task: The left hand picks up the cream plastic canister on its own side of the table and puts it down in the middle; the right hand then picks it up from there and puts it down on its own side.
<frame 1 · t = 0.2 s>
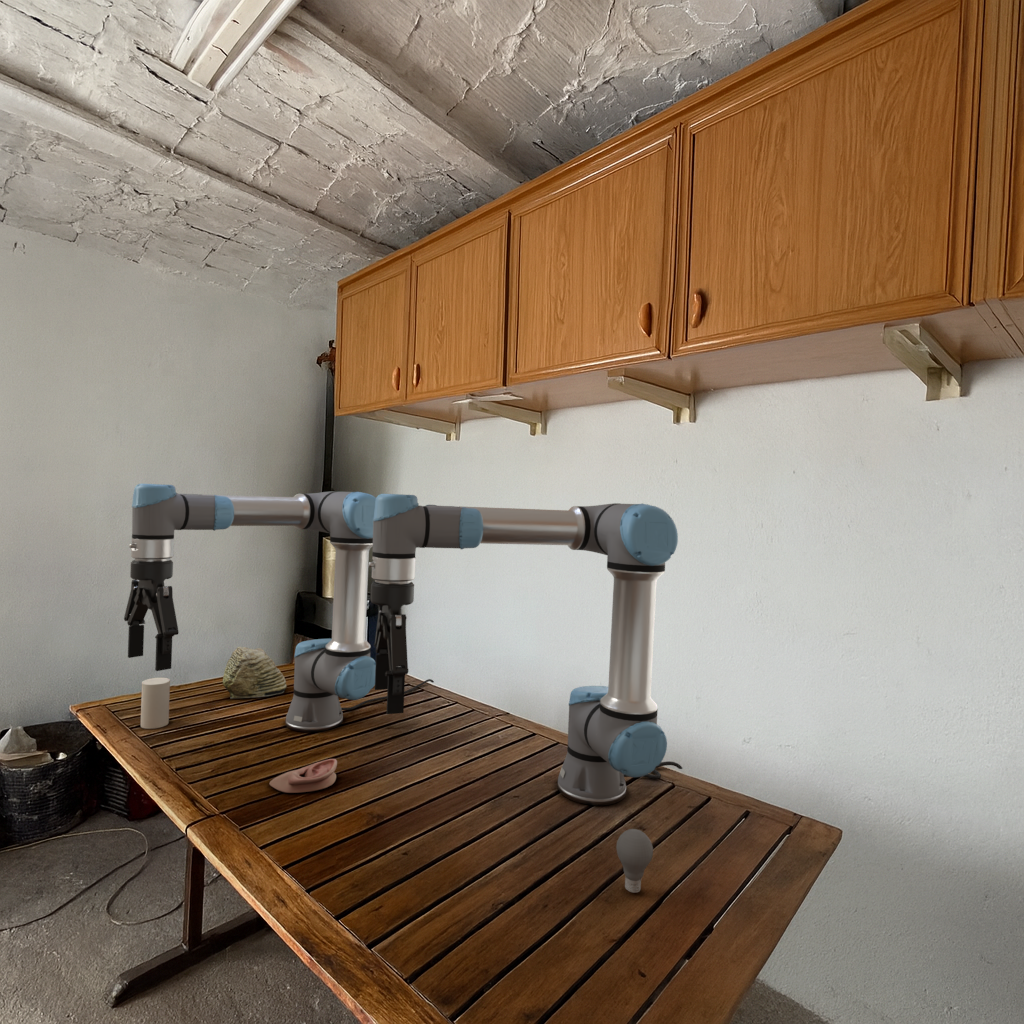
left hand: (148, 663, 130), 28 cm above the table, tool pointing down, fingers open, 13 cm apart
right hand: (388, 700, 112), 28 cm above the table, tool pointing down, fingers open, 13 cm apart
light bulb: (632, 891, 106), on the table
fossil: (254, 694, 198), on the table
anatomical model: (303, 782, 140), on the table
canister: (154, 724, 170), on the table
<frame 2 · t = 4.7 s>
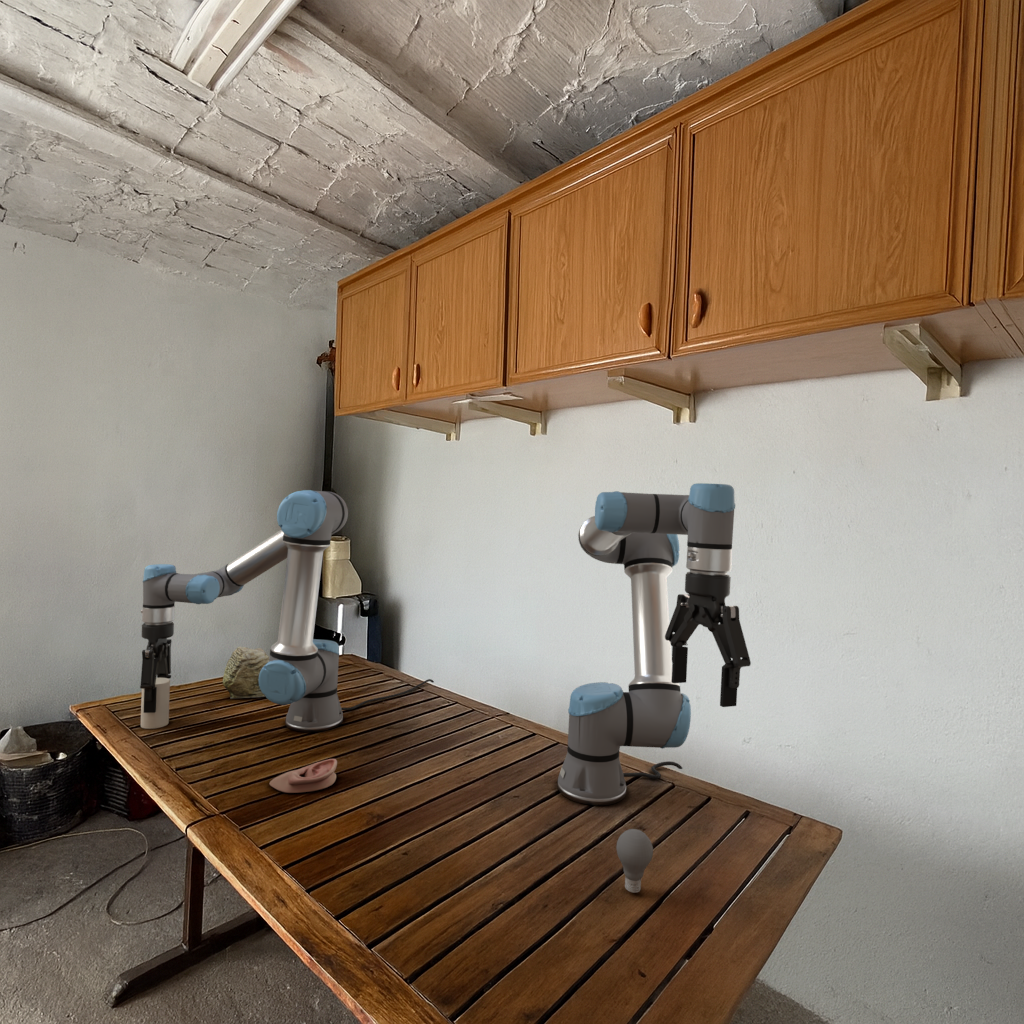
left hand: (155, 707, 170), 5 cm above the table, tool pointing down, fingers closed on canister, 7 cm apart
right hand: (702, 693, 111), 32 cm above the table, tool pointing down, fingers open, 13 cm apart
canister: (154, 724, 170), on the table, touching left hand
everything else where it was.
when the left hand's fingers open (6 cm above the table, at t = 13.8 s): canister drops 1 cm, on the table.
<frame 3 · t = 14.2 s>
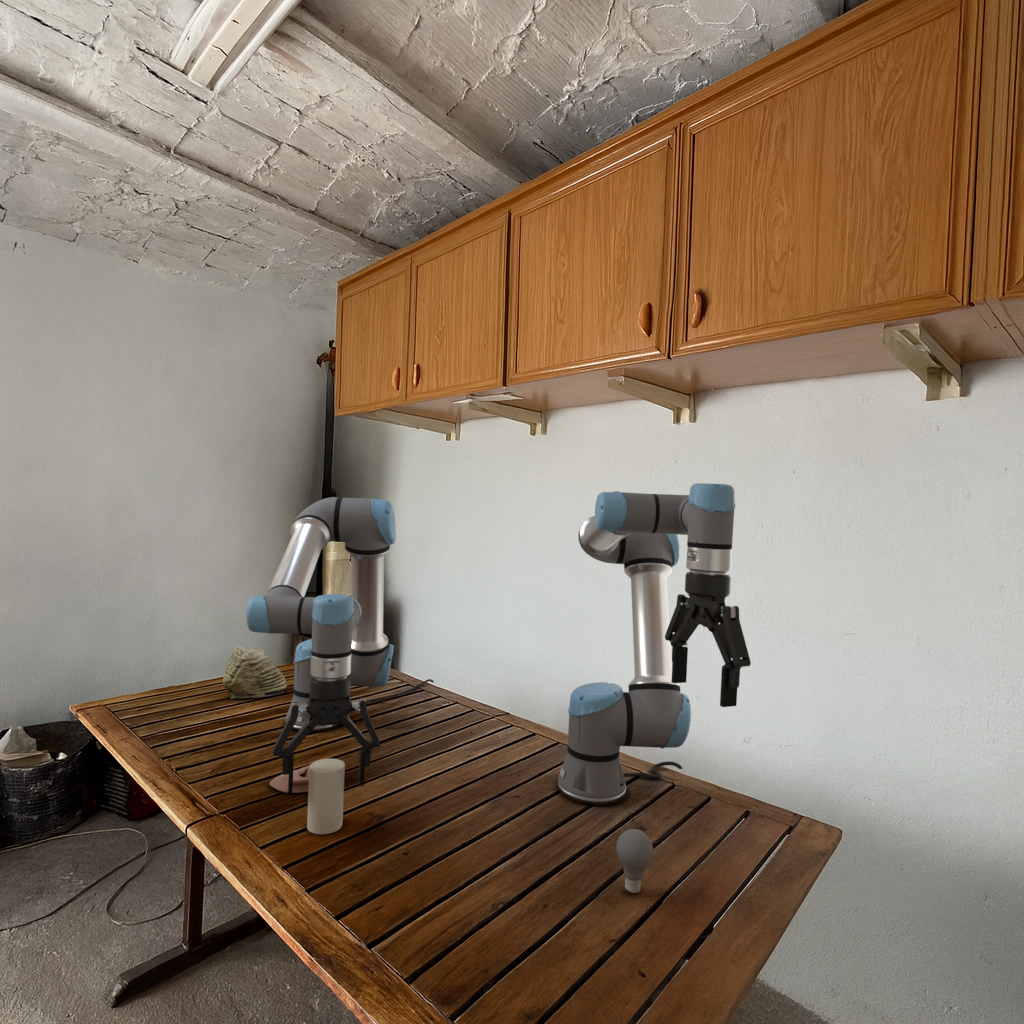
left hand: (326, 786, 122), 8 cm above the table, tool pointing down, fingers open, 12 cm apart
right hand: (702, 693, 111), 32 cm above the table, tool pointing down, fingers open, 13 cm apart
canister: (324, 825, 122), on the table
everything else where it was.
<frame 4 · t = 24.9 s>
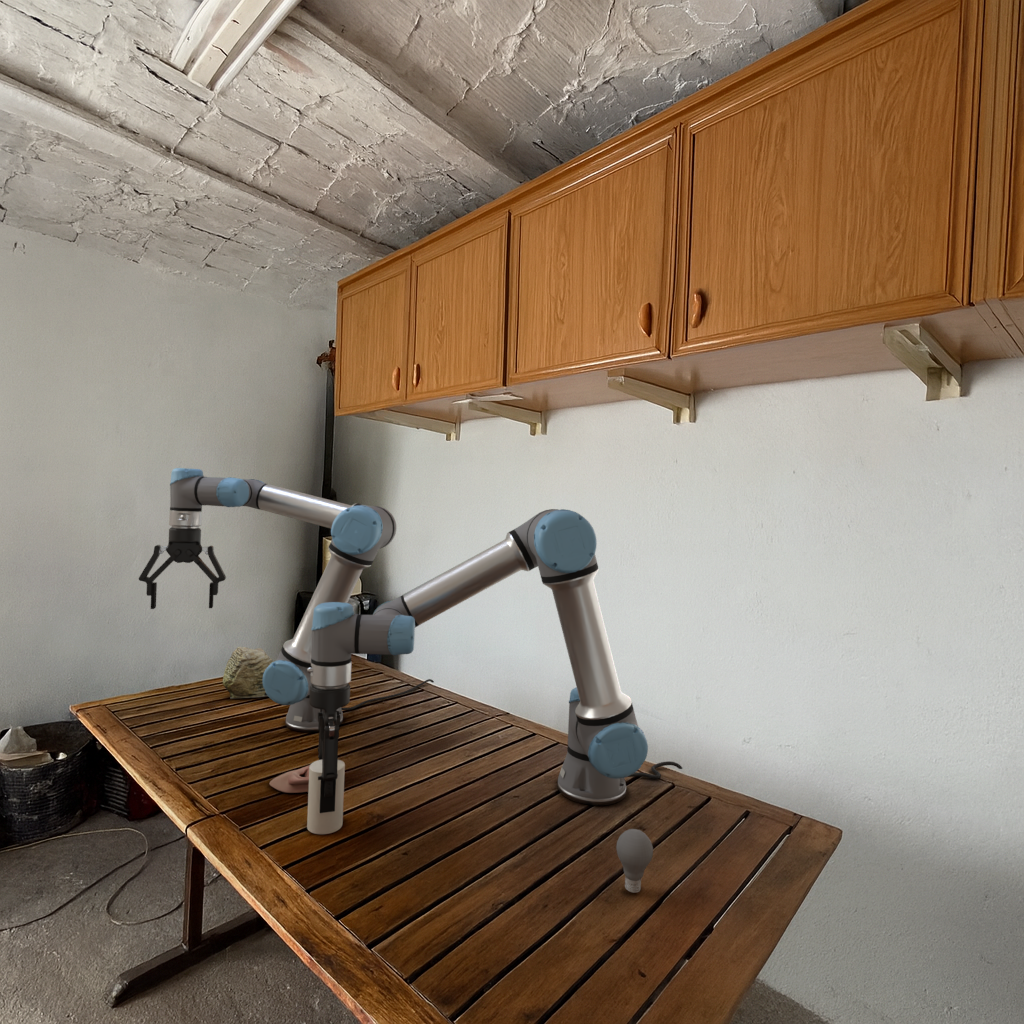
left hand: (182, 607, 166), 32 cm above the table, tool pointing down, fingers open, 13 cm apart
right hand: (325, 802, 122), 5 cm above the table, tool pointing down, fingers closed on canister, 7 cm apart
canister: (324, 825, 122), on the table, touching right hand
everything else where it was.
when the right hand's fingers open (6 cm above the table, at t = 29.8 s): canister drops 1 cm, on the table.
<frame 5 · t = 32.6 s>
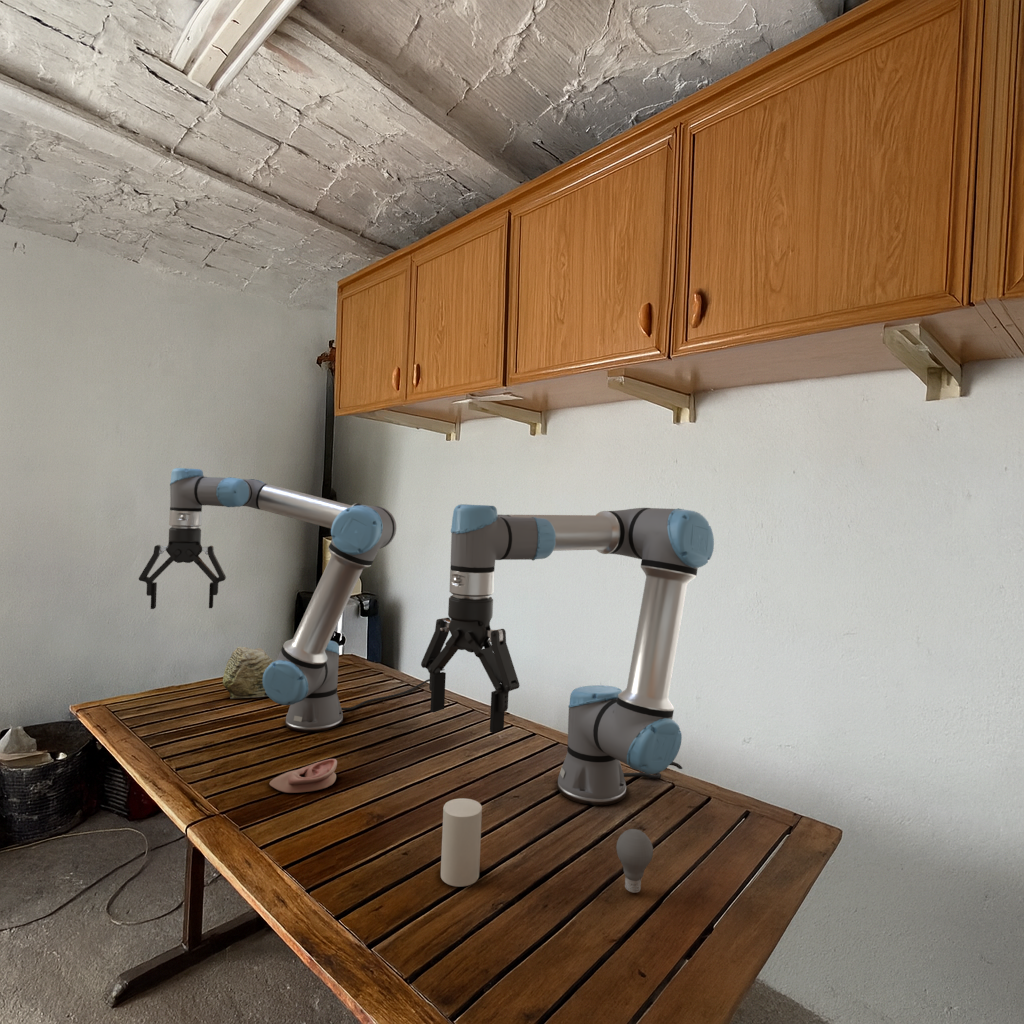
left hand: (182, 607, 166), 32 cm above the table, tool pointing down, fingers open, 13 cm apart
right hand: (465, 720, 108), 27 cm above the table, tool pointing down, fingers open, 13 cm apart
canister: (459, 875, 108), on the table
everything else where it was.
at the end: canister inside the target area (0.1 cm from its centre), on the table; canister tilted 0°; the two hands never held the canister at the same time; the left hand is holding nothing; the right hand is holding nothing; canister at rest at the end (0.0 cm/s) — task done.
